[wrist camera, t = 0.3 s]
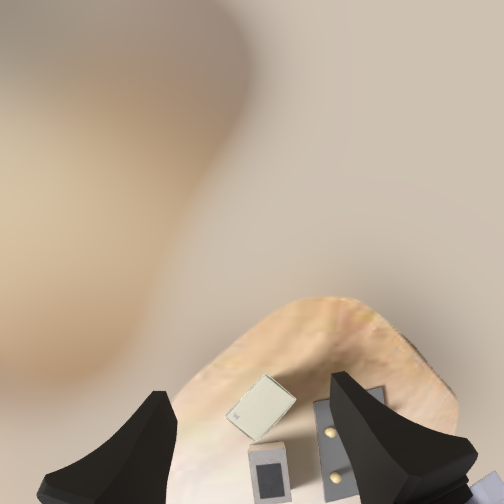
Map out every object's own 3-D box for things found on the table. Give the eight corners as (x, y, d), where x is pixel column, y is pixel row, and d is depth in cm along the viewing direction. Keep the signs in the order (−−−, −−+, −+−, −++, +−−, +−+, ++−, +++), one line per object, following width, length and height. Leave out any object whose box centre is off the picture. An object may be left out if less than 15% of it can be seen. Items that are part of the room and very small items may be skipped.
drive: (288, 489, 30) (291, 501, 26) (256, 493, 30) (255, 505, 26) (282, 440, 34) (285, 447, 29) (249, 444, 34) (247, 451, 29)
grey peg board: (390, 482, 29) (398, 487, 26) (324, 500, 29) (329, 508, 26) (379, 387, 36) (388, 386, 33) (313, 402, 36) (317, 403, 33)
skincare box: (257, 430, 35) (254, 446, 24) (233, 410, 36) (220, 418, 25) (289, 397, 37) (299, 399, 26) (265, 377, 38) (265, 371, 27)
